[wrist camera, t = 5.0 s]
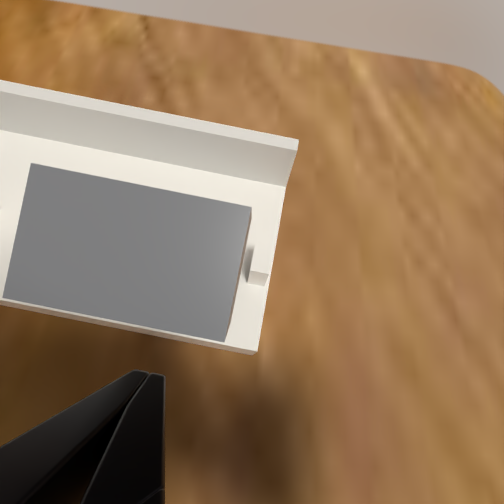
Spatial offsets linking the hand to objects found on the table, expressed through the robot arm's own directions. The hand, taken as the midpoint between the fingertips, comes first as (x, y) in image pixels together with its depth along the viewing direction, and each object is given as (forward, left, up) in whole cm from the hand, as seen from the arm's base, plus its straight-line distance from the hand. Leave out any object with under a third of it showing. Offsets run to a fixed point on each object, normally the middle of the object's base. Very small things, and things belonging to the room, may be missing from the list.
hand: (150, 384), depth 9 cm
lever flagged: (+4, +4, -4) cm, 7 cm away
